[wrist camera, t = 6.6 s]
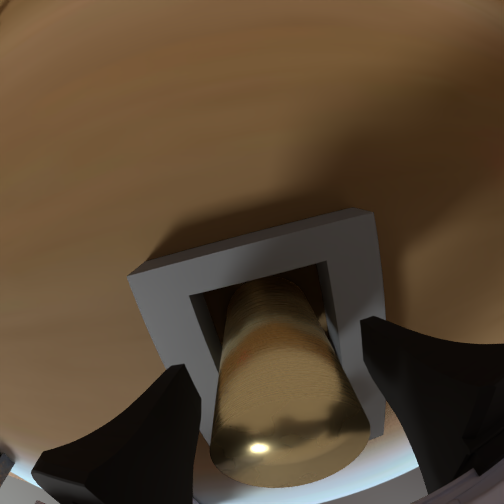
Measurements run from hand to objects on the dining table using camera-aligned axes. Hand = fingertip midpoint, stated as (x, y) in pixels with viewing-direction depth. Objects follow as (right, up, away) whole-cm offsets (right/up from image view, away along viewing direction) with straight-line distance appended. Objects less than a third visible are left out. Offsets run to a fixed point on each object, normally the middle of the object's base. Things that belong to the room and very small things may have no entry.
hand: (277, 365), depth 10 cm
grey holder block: (+1, -2, +5) cm, 5 cm away
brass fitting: (0, +1, +4) cm, 5 cm away
